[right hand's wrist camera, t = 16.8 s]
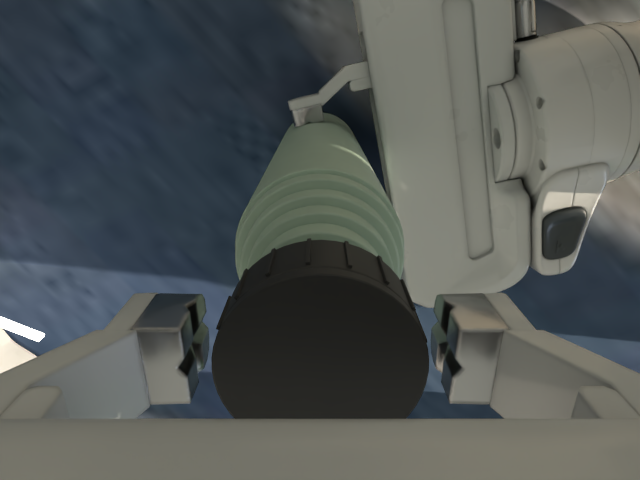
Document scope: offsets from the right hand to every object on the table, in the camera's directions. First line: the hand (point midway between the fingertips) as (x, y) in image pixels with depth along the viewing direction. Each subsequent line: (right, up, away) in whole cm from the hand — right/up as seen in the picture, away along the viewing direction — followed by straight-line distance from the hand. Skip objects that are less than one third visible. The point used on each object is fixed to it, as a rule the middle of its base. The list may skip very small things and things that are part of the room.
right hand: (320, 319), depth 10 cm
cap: (0, -1, -2) cm, 2 cm away
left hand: (-1, +6, +16) cm, 17 cm away
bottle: (0, +8, +21) cm, 23 cm away
